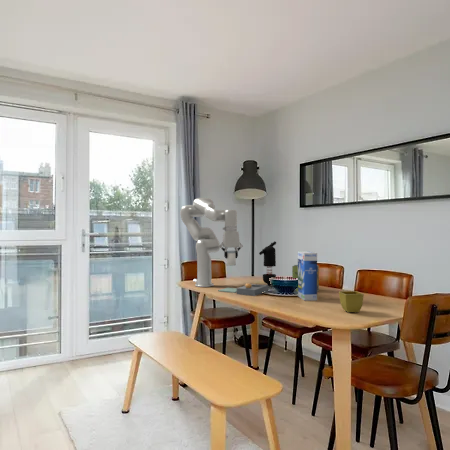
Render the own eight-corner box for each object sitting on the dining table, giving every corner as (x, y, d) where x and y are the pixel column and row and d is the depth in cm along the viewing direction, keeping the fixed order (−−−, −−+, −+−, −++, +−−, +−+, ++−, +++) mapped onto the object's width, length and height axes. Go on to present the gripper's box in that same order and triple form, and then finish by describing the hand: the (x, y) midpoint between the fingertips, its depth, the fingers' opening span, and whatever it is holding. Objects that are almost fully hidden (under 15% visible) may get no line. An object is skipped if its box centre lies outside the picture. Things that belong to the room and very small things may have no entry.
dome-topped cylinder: (227, 265, 237) (227, 251, 237) (225, 264, 243) (225, 250, 243) (236, 265, 239) (236, 250, 239) (234, 264, 244) (234, 250, 244)
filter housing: (236, 294, 228) (236, 288, 228) (251, 289, 244) (251, 284, 244) (254, 295, 222) (254, 289, 222) (268, 291, 238) (268, 285, 238)
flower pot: (338, 310, 184) (338, 291, 184) (356, 309, 184) (356, 290, 184) (345, 314, 175) (345, 294, 175) (364, 313, 176) (364, 294, 176)
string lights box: (297, 296, 220) (297, 251, 220) (310, 296, 220) (310, 251, 221) (304, 300, 207) (304, 252, 207) (318, 300, 207) (317, 252, 207)
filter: (272, 284, 265) (271, 241, 265) (280, 286, 257) (279, 241, 257) (255, 285, 259) (255, 241, 259) (263, 287, 251) (262, 241, 251)
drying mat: (218, 291, 239) (218, 290, 239) (228, 288, 249) (228, 287, 249) (234, 292, 232) (234, 291, 232) (244, 290, 243) (244, 289, 243)
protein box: (317, 292, 233) (317, 266, 233) (292, 291, 238) (291, 266, 238) (319, 289, 242) (318, 265, 243) (294, 288, 247) (294, 264, 248)
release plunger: (244, 293, 228) (244, 284, 228) (247, 292, 231) (247, 283, 231) (249, 293, 226) (249, 284, 226) (252, 292, 229) (252, 283, 229)
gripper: (218, 229, 235) (219, 259, 235) (245, 229, 239) (245, 258, 239) (216, 229, 242) (216, 258, 242) (242, 229, 246) (242, 257, 246)
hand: (231, 257), depth 241 cm, fingers closed on dome-topped cylinder, 5 cm apart
